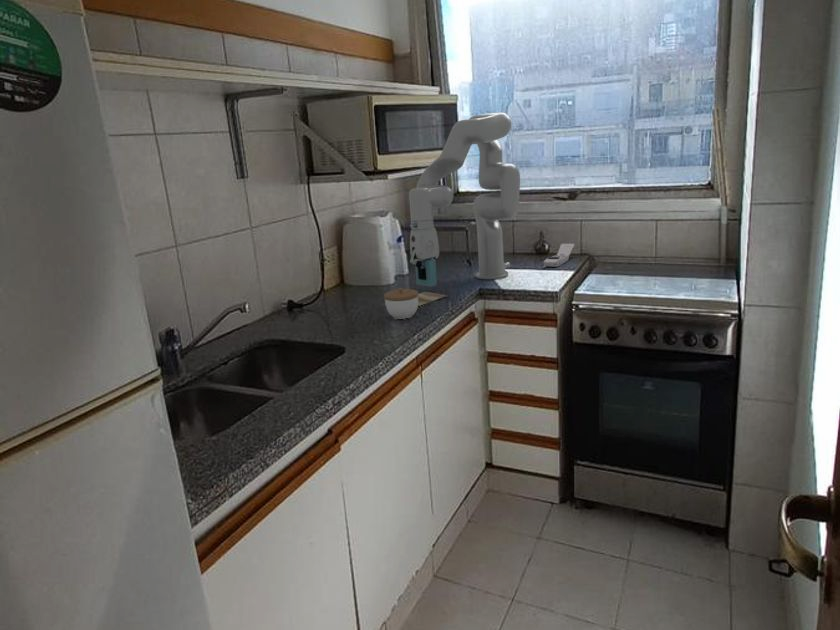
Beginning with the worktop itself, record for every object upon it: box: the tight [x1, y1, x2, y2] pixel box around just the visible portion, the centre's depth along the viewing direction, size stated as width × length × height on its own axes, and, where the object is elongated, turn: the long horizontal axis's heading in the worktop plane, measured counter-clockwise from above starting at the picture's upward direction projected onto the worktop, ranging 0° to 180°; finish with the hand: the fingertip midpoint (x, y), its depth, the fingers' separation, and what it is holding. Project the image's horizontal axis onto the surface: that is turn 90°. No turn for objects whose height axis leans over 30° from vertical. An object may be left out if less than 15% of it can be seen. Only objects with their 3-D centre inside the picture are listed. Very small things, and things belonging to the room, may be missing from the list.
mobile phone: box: [542, 243, 575, 269], centre depth 251 cm, size 6×6×25 cm
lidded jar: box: [383, 287, 419, 320], centre depth 191 cm, size 11×11×9 cm
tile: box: [414, 259, 438, 288], centre depth 210 cm, size 3×7×9 cm, turn 46°
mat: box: [418, 291, 448, 307], centre depth 210 cm, size 16×11×1 cm
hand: (426, 277), depth 211 cm, fingers closed on tile, 3 cm apart
